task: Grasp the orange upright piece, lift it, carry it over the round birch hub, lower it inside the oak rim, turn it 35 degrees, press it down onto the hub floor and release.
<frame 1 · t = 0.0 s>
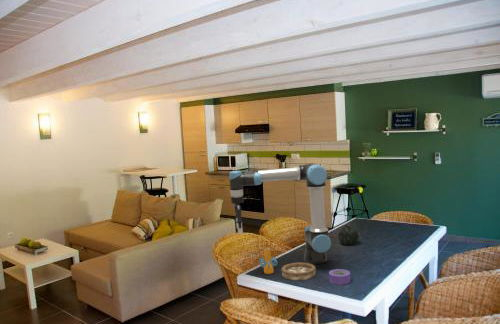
hand: (239, 230, 255), 28 cm above the table, fingers open, 13 cm apart
hub: (298, 274, 252), on the table
tape roll: (339, 281, 237), on the table
orange upright piece: (268, 272, 259), on the table
squash: (348, 243, 308), on the table
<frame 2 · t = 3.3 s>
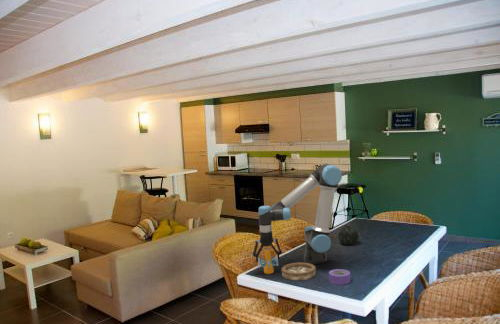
hand: (268, 266, 259), 4 cm above the table, fingers closed on orange upright piece, 11 cm apart
orange upright piece: (268, 272, 259), on the table, touching gripper
everything else where it was.
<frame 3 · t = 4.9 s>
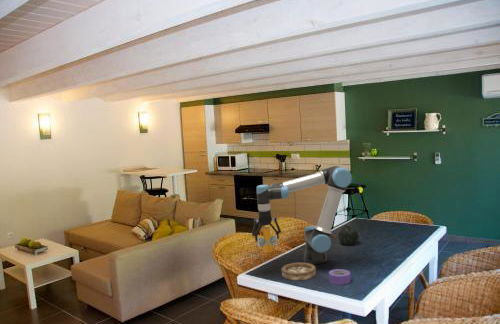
hand: (267, 245, 258), 17 cm above the table, fingers closed on orange upright piece, 11 cm apart
orange upright piece: (268, 252, 258), point 13 cm above the table, touching gripper
everything else where it was.
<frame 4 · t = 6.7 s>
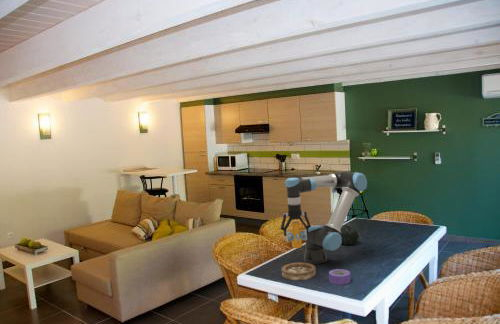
hand: (296, 240, 250), 21 cm above the table, fingers closed on orange upright piece, 11 cm apart
orange upright piece: (297, 247, 250), point 17 cm above the table, touching gripper
everything else where it was.
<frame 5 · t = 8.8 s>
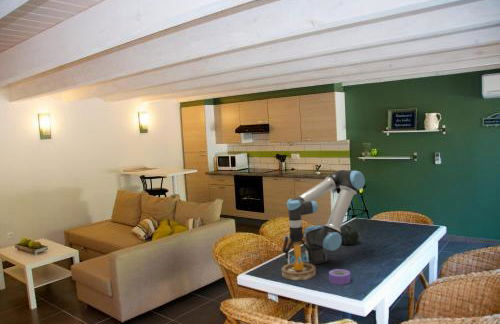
hand: (298, 262, 251), 7 cm above the table, fingers closed on orange upright piece, 11 cm apart
orange upright piece: (298, 269, 251), point 3 cm above the table, touching gripper
everything else where it was.
when the fingers open (6 cm above the table, at t = 10.2 s): orange upright piece stays where it is, resting on hub.
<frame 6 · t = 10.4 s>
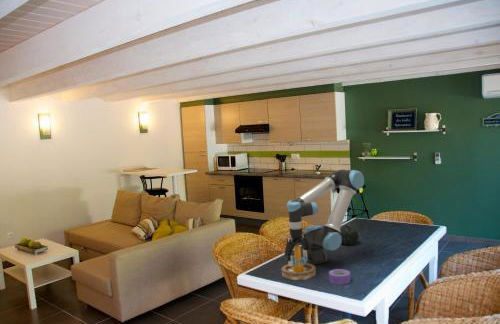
hand: (298, 263, 251), 7 cm above the table, fingers open, 12 cm apart
orange upright piece: (298, 271, 251), point 2 cm above the table, touching hub
everything else where it was.
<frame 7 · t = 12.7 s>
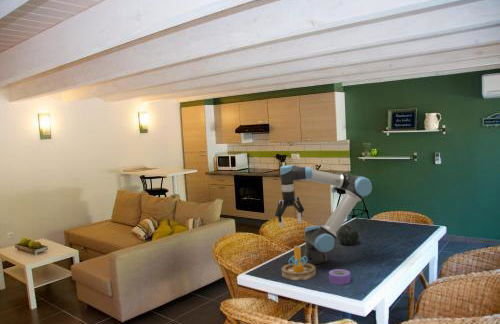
hand: (290, 225, 256), 29 cm above the table, fingers open, 13 cm apart
nothing on the table moved.
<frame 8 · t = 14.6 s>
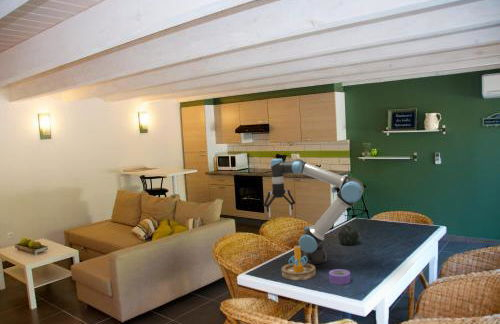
hand: (280, 216, 266), 33 cm above the table, fingers open, 13 cm apart
nothing on the table moved.
at the end: orange upright piece 0.1 cm from the hub (horizontally); orange upright piece touching hub; orange upright piece tilted 0° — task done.
